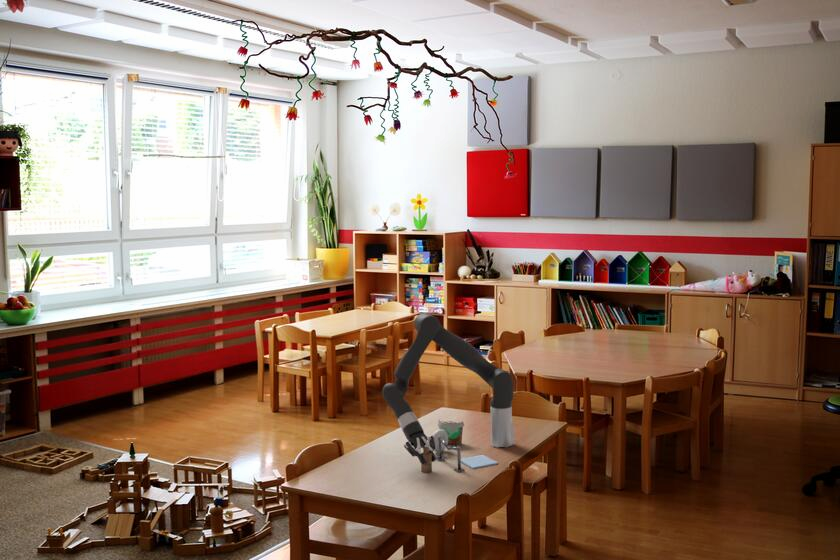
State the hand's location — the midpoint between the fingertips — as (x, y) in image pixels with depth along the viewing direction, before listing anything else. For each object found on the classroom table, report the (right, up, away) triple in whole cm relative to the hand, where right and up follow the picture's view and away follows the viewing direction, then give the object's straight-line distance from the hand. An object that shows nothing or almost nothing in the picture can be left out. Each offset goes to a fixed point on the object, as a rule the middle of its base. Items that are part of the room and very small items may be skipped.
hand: (429, 462), depth 312 cm
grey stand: (+8, -3, +9) cm, 13 cm away
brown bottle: (-1, -4, +2) cm, 5 cm away
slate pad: (+20, -3, +11) cm, 23 cm away
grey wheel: (+5, -2, +26) cm, 26 cm away
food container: (+9, -1, +37) cm, 38 cm away
